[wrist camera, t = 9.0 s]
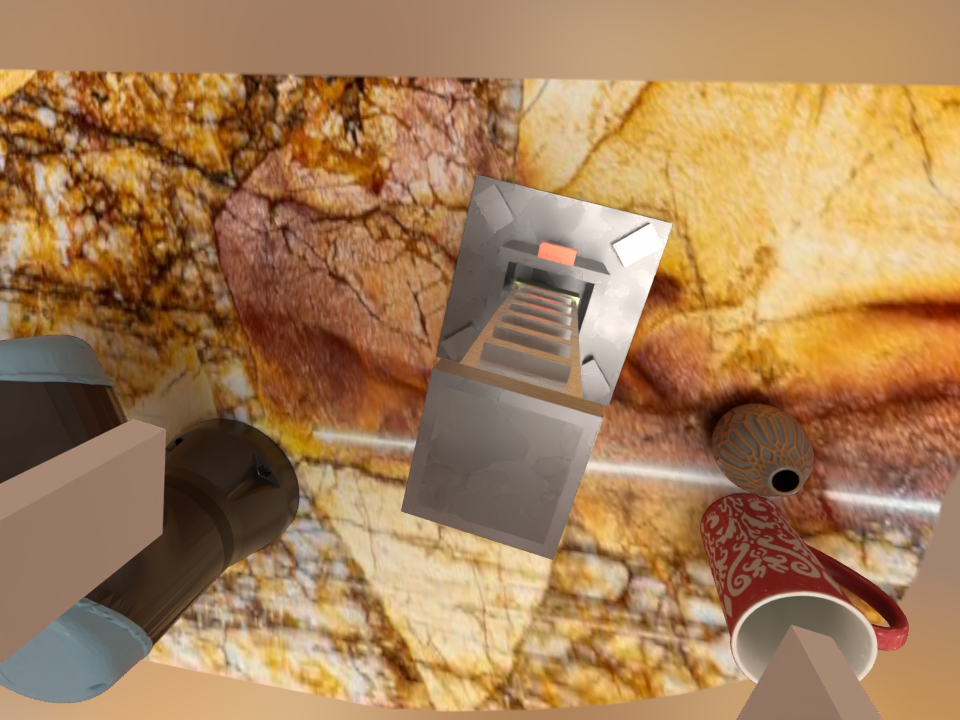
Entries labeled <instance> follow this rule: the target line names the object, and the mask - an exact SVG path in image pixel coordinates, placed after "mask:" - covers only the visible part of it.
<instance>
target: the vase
mask: <svg viewBox="0 0 960 720" xmlns="http://www.w3.org/2000/svg"><path fill="white" fill-rule="evenodd" d="M712 450H713V454H714V457H715V460H716V462H717V464H718V466H719V468H720V469H721V471H722V472H723V473H724V475H725V476H726V477H727V478H728V479H729V480H730V481H731V482H733V483H734V484H735V485H737V486H738V487H740V488H741V489H743V490H745V491H747V492H750V493H753V494H756V495H760V496H791V495H794V494H796V493H797V492H799V491H800V490H801V489H802V487H803V485H804V482H805V481H806V480H807V478H808V477H809V475H810V473H811V471H812V468H813V462H814V453H813V448H812V444H811V441H810V439H809V437H808V435H807V433H806V431H805V430H804V428H803V427H802V426H801V425H800V424H799V423H798V422H797V421H796V420H795V419H794V418H793V417H791V416H790V415H789V414H787V413H786V412H784V411H782V410H780V409H778V408H775V407H773V406H769V405H764V404H745V405H741V406H738V407H735V408H733V409H731V410H730V411H728V412H727V413H725V414H724V415H723V416H722V417H721V418H720V420H719V421H718V423H717V424H716V426H715V428H714V431H713V436H712Z"/></svg>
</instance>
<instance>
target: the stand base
mask: <svg viewBox="0 0 960 720" xmlns="http://www.w3.org/2000/svg"><path fill="white" fill-rule="evenodd" d="M672 225H673V224H672V223H668V222H664V221H660V220H656V219H652V218H648V217H644V216H640V215H636V214H632V213H628V212H624V211H620V210H616V209H612V208H608V207H604V206H600V205H596V204H592V203H588V202H584V201H581V200H577V199H573V198H569V197H565V196H561V195H557V194H553V193H549V192H545V191H541V190H537V189H533V188H529V187H525V186H521V185H517V184H513V183H509V182H505V181H501V180H497V179H493V178H489V177H485V176H481V175H476V179H475V184H474V188H473V193H472V197H471V202H470V206H469V211H468V215H467V220H466V224H465V229H464V233H463V238H462V242H461V247H460V251H459V256H458V260H457V265H456V269H455V274H454V278H453V283H452V287H451V292H450V297H449V301H448V306H447V310H446V315H445V319H444V324H443V328H442V333H441V337H440V342H439V346H438V351H437V355H436V356H437V357H440V358H444V359H447V360H451V361H453V362H458V363H460V361H461V360H462V359H463V357H464V356H465V354H466V353H467V352H468V350H469V349H470V347H471V346H472V345H473V343H474V342H475V341H476V339H477V338H478V336H479V335H480V334H481V332H482V331H483V329H484V328H485V327H486V325H487V324H488V322H489V321H490V320H491V318H492V317H493V315H494V314H495V313H496V311H497V310H498V308H499V307H500V306H501V304H502V303H503V301H504V300H505V299H506V297H507V296H508V294H509V293H510V292H511V290H512V288H513V284H514V281H515V279H516V278H517V277H521V278H524V279H528V280H532V281H535V282H539V283H543V284H547V285H550V286H554V287H558V288H562V289H565V290H569V291H573V292H576V293H579V297H580V299H579V302H578V305H577V315H578V332H579V348H580V365H581V382H582V398H583V399H586V400H589V401H593V402H596V403H600V404H603V405H607V406H608V405H609V402H610V400H611V397H612V394H613V391H614V388H615V386H616V383H617V380H618V377H619V374H620V371H621V369H622V366H623V363H624V360H625V357H626V355H627V352H628V349H629V346H630V343H631V340H632V338H633V335H634V332H635V329H636V326H637V324H638V321H639V318H640V315H641V312H642V309H643V307H644V304H645V301H646V298H647V295H648V293H649V290H650V287H651V284H652V281H653V278H654V276H655V273H656V270H657V267H658V264H659V262H660V259H661V256H662V253H663V250H664V248H665V245H666V242H667V239H668V236H669V233H670V231H671V228H672Z"/></svg>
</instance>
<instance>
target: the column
mask: <svg viewBox="0 0 960 720" xmlns="http://www.w3.org/2000/svg"><path fill="white" fill-rule="evenodd" d="M579 299H580V297H579V293H576V292H573V291H569V290H565V289H562V288H558V287H554V286H550V285H547V284H543V283H539V282H535V281H532V280H528V279H524V278H521V277H517V278H516V279H515V281H514V284H513V288H512V290H511V292H510V293H509V294H508V296H507V297H506V299H505V300H504V301H503V303H502V304H501V306H500V307H499V308H498V310H497V311H496V313H495V314H494V315H493V317H492V318H491V320H490V321H489V322H488V324H487V325H486V327H485V328H484V329H483V331H482V332H481V334H480V335H479V336H478V338H477V339H476V341H475V342H474V343H473V345H472V346H471V347H470V349H469V350H468V352H467V353H466V354H465V356H464V357H463V359H462V360H461V361H460V363H457V362H453V361H450V360H446V359H443V358H441V359H440V360H439V361H438V363H437V364H436V365H435V366H434V367H433V369H432V373H431V378H430V382H429V387H428V391H427V396H426V400H425V405H424V409H423V414H422V418H421V423H420V427H419V432H418V436H417V441H416V446H415V450H414V455H413V459H412V464H411V468H410V473H409V477H408V482H407V486H406V491H405V495H404V500H403V504H402V509H401V511H402V512H405V513H408V514H411V515H414V516H417V517H421V518H424V519H427V520H430V521H433V522H436V523H439V524H442V525H446V526H449V527H452V528H455V529H458V530H461V531H464V532H467V533H471V534H474V535H477V536H480V537H483V538H486V539H489V540H493V541H496V542H499V543H502V544H505V545H508V546H511V547H514V548H518V549H521V550H524V551H527V552H530V553H533V554H536V555H539V556H543V557H546V558H549V559H552V560H553V559H554V556H555V553H556V550H557V547H558V544H559V542H560V539H561V536H562V533H563V530H564V528H565V525H566V522H567V519H568V516H569V513H570V511H571V508H572V505H573V502H574V499H575V497H576V494H577V491H578V488H579V485H580V482H581V480H582V477H583V474H584V471H585V468H586V465H587V463H588V460H589V457H590V454H591V451H592V449H593V446H594V443H595V440H596V437H597V434H598V432H599V429H600V426H601V423H602V420H603V413H602V406H601V404H599V403H596V402H592V401H589V400H585V399H582V382H581V365H580V348H579V332H578V315H577V305H578V302H579Z"/></svg>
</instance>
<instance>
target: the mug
mask: <svg viewBox="0 0 960 720" xmlns="http://www.w3.org/2000/svg"><path fill="white" fill-rule="evenodd" d="M701 535H702V539H703V543H704V547H705V550H706V553H707V556H708V560H709V565H710V568H711V571H712V575H713V578H714V581H715V584H716V588H717V591H718V595H719V599H720V602H721V606H722V609H723V613H724V616H725V620H726V623H727V627H728V630H729V633H730V637H731V639H730V644H731V651H732V655H733V658H734V660H735V662H736V664H737V666H738V667H739V669H740V670H741V671H742V673H743V674H744V675H745V676H746V677H747V678H749V679H750V680H751V681H752V682H754V683H755V684H757V683H758V681H759V680H760V678H761V676H762V674H763V673H764V671H765V669H766V668H767V666H768V664H769V662H770V661H771V659H772V657H773V655H774V654H775V652H776V650H777V648H778V647H779V645H780V643H781V642H782V640H783V638H784V636H785V635H786V633H787V631H788V629H789V628H790V626H791V625H794V626H797V627H800V628H803V629H807V630H810V631H813V632H816V633H819V634H823V635H826V636H829V637H832V638H833V640H834V641H835V643H836V645H837V646H838V648H839V649H840V651H841V653H842V654H843V656H844V657H845V659H846V661H847V662H848V664H849V666H850V667H851V669H852V670H853V672H854V674H855V675H856V677H857V679H858V680H859V682H860V681H861V680H862V679H863V678H864V677H865V676H866V675H867V674H868V672H869V671H870V669H871V668H872V666H873V665H874V662H875V659H876V655H877V649H879V650H887V651H890V650H897V649H899V648H900V647H902V646H903V645H904V644H905V642H906V639H907V636H908V630H909V625H908V621H907V618H906V616H905V615H904V613H903V612H902V610H901V609H900V607H899V606H898V605H897V604H896V603H895V602H894V601H893V600H892V599H891V598H890V597H889V596H888V595H887V594H886V593H885V592H884V591H882V590H881V589H880V588H879V587H877V586H876V585H875V584H873V583H872V582H871V581H869V580H868V579H866V578H865V577H863V576H862V575H860V574H859V573H857V572H855V571H854V570H852V569H851V568H849V567H847V566H845V565H844V564H842V563H840V562H839V561H837V560H835V559H834V558H832V557H830V556H828V555H826V554H824V553H823V552H821V551H819V550H817V549H815V548H813V547H811V546H809V545H807V544H805V542H804V541H803V540H802V539H801V537H800V536H799V535H798V533H797V532H796V531H795V530H794V528H793V527H792V526H791V524H790V523H789V522H788V520H787V519H786V518H785V516H784V515H783V514H782V512H781V511H780V510H779V509H778V508H777V507H776V506H775V505H774V504H773V503H771V502H770V501H768V500H766V499H764V498H762V497H759V496H756V495H751V494H736V495H731V496H727V497H725V498H722V499H720V500H718V501H717V502H715V503H714V504H713V505H712V506H711V507H710V508H709V509H708V510H707V511H706V513H705V514H704V516H703V518H702V521H701ZM837 583H838V584H839V585H841V586H843V587H844V588H846V589H847V590H849V591H850V592H852V593H854V594H855V595H857V596H858V597H859V598H861V599H862V600H863V601H865V602H866V603H867V604H869V605H870V606H871V607H872V608H874V609H875V610H876V611H877V612H878V613H879V614H880V615H881V616H882V617H883V618H884V619H885V620H886V621H887V622H888V624H889V625H890V627H882V626H878V625H874V624H871V623H870V621H869V620H868V619H867V617H866V616H865V615H864V614H863V613H862V612H861V611H860V610H859V609H858V608H857V607H855V606H854V605H853V604H852V603H851V602H850V600H849V599H848V598H847V596H846V595H845V594H844V593H843V591H842V590H841V589H840V587H839V586H838V585H837Z"/></svg>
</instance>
